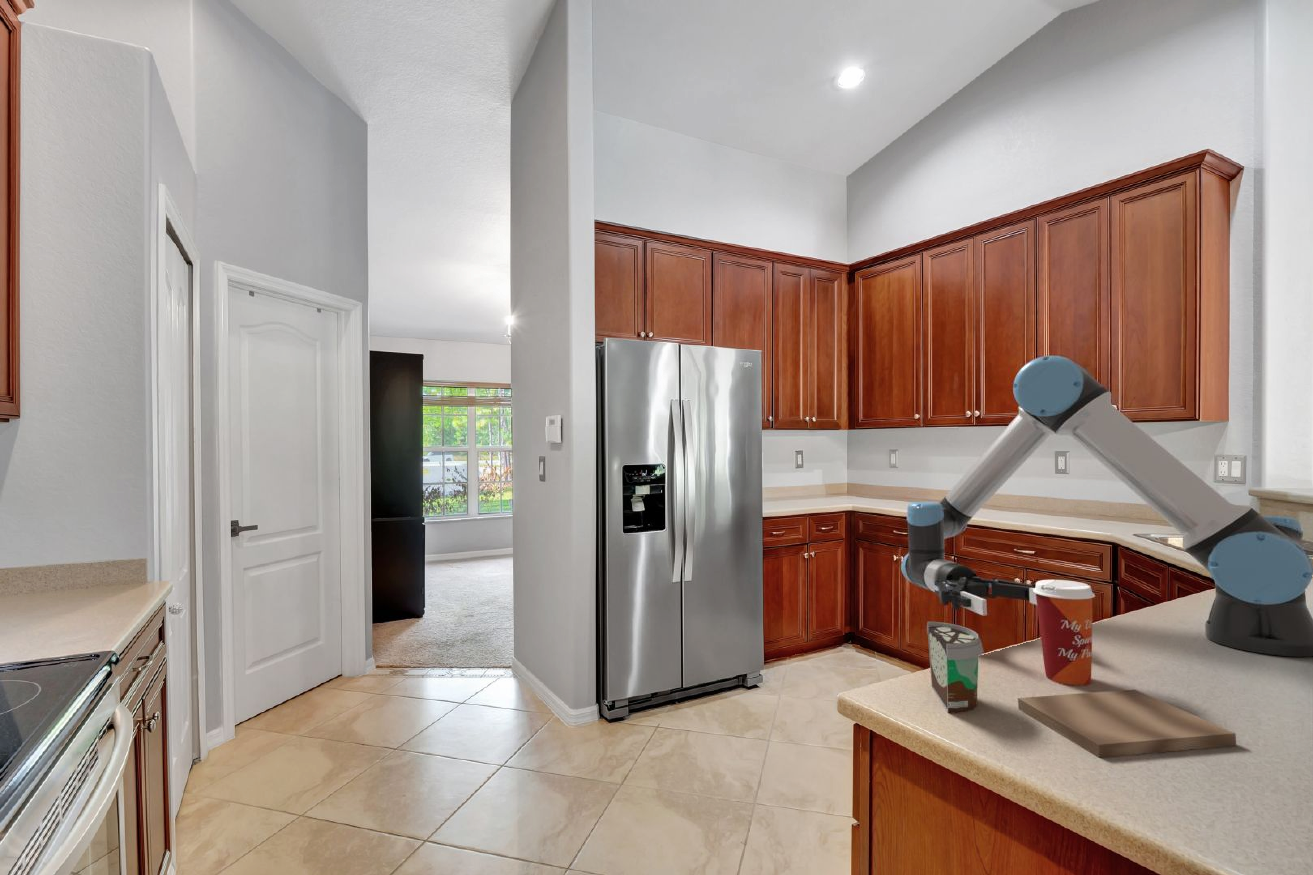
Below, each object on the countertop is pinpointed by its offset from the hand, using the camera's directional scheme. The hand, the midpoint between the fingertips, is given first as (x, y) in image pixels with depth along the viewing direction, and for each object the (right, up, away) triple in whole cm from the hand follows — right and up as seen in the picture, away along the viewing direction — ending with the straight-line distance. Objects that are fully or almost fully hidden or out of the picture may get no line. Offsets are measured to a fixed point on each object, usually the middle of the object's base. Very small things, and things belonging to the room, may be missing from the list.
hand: (1021, 605), depth 106 cm
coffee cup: (+1, -9, -10) cm, 14 cm away
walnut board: (-3, -8, -27) cm, 28 cm away
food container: (-19, -9, -17) cm, 27 cm away
